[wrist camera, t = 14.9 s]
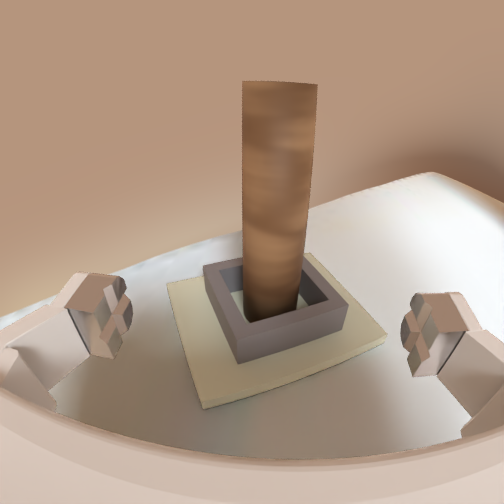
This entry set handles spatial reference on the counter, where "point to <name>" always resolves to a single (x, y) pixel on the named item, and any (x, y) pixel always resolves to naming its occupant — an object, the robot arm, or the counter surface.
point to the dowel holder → (265, 332)
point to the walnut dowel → (275, 192)
